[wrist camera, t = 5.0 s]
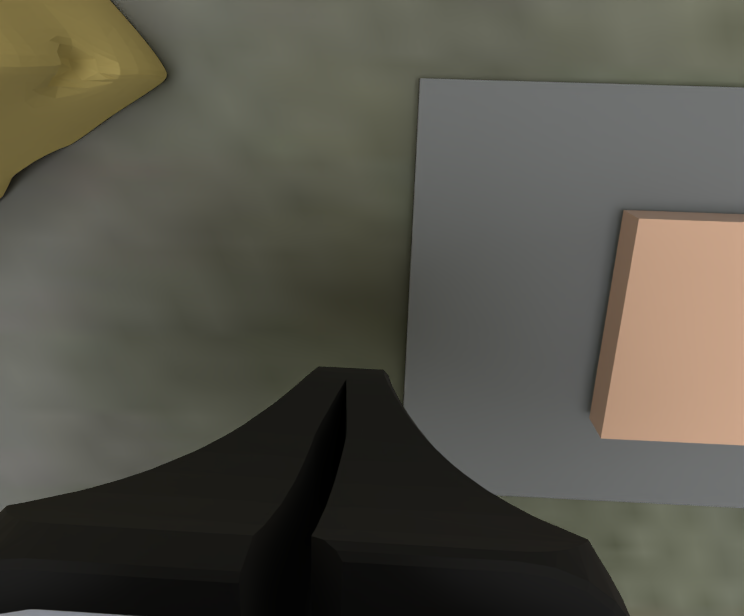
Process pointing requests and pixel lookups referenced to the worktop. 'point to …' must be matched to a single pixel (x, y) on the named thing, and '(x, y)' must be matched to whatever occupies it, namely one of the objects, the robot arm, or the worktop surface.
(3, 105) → the cheese
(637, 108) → the mat
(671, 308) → the tile
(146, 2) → the worktop surface
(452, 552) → the robot arm
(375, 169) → the worktop surface
